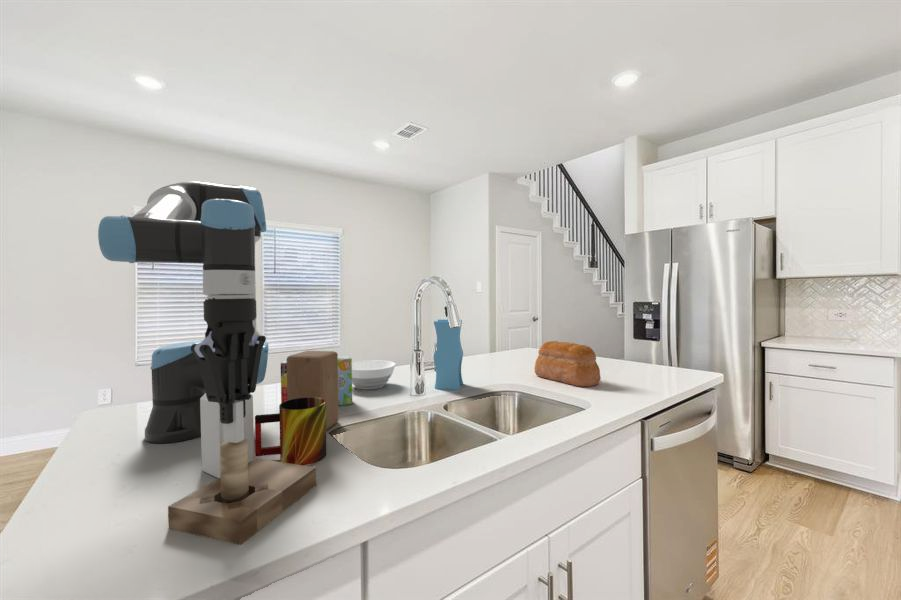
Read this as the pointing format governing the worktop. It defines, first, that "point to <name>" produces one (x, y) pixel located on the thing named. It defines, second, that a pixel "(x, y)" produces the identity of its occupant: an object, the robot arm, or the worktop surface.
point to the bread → (568, 363)
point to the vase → (448, 356)
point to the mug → (296, 431)
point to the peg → (234, 471)
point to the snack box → (343, 380)
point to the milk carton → (220, 434)
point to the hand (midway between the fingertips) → (233, 440)
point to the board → (243, 502)
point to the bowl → (371, 373)
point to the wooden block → (315, 379)
